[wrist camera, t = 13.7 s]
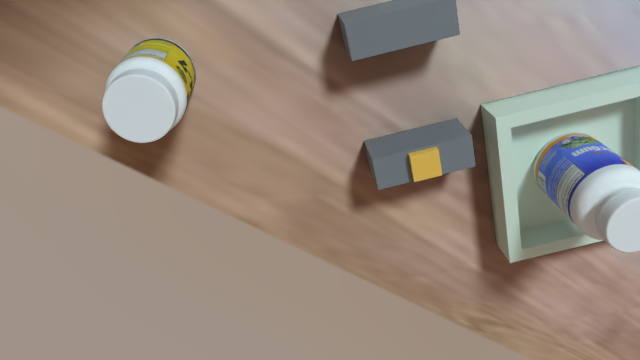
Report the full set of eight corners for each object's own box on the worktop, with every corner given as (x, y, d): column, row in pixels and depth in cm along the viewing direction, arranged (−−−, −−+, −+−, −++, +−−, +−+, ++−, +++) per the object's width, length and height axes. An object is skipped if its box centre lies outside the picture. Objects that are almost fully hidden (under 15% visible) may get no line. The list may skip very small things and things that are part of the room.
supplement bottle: (197, 106, 42) (183, 152, 34) (128, 104, 41) (98, 150, 34) (195, 37, 40) (180, 69, 32) (122, 34, 39) (89, 66, 32)
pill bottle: (611, 137, 45) (697, 193, 36) (583, 200, 47) (658, 267, 38) (546, 124, 44) (618, 178, 35) (521, 189, 46) (582, 256, 37)
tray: (480, 104, 44) (495, 117, 41) (644, 64, 43) (669, 75, 41) (496, 242, 49) (510, 263, 46) (641, 207, 49) (664, 225, 46)
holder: (337, 13, 40) (345, 25, 36) (439, -12, 40) (457, -3, 36) (369, 169, 45) (379, 193, 41) (460, 147, 45) (477, 169, 41)
